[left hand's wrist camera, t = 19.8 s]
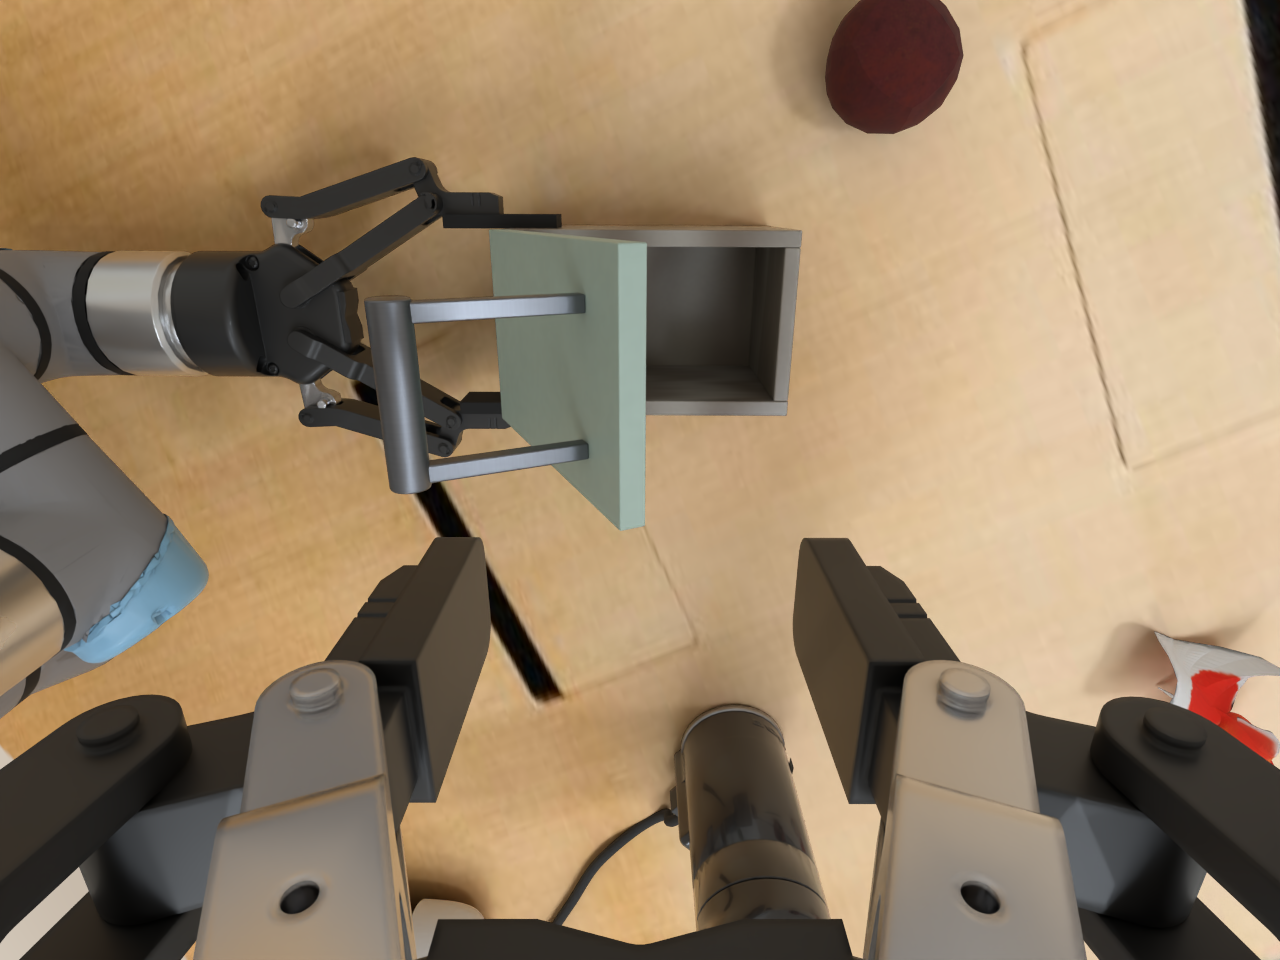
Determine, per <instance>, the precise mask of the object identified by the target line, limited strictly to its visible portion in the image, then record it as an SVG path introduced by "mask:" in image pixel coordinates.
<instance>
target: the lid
mask: <svg viewBox="0 0 1280 960" xmlns="http://www.w3.org/2000/svg"><path fill="white" fill-rule="evenodd" d="M489 237H490V251H491V265H492V280H493V294H494V297H473V298H452V299H430V300H411V299H410V297H407V296H375V297H369V298H366V299H365V300H364V303H365V311H366V318H367V325H368V333H369V340H370V347H371V354H372V362H373V369H374V376H375V384H376V391H377V398H378V406H379V413H380V420H381V428H382V435H383V442H384V449H385V457H386V464H387V471H388V479H389V486H390V489H391V491H392V492H394V493H398V494H414V493H419V492H422V491H425V490H427V489H429V488H430V487H431V484H432V483H434V482H441V481H448V480H454V479H461V478H467V477H474V476H481V475H487V474H494V473H500V472H507V471H513V470H520V469H527V468H533V467H540V466H546V465H552V466H553V467H554V468H555V469H556V470H557V471H558V472H559V473H560V474H561V475H562V476H563V477H564V478H565V479H566V480H568V481H569V482H570V483H571V484H572V485H573V486H574V487H575V488H576V489H577V490H578V491H579V492H580V493H581V494H582V495H583V496H584V497H585V498H586V499H587V500H588V501H590V502H591V503H592V504H593V505H594V506H595V507H596V508H597V509H598V510H599V511H600V512H601V513H602V514H603V515H604V516H605V517H606V518H607V519H608V520H609V521H610V522H612V523H613V524H614V525H615V526H616V527H617V528H618V529H619V530H620V531H622V530H627V529H632V528H637V527H642V526H645V430H646V298H647V243H646V242H637V241H626V240H615V239H605V238H594V237H584V236H573V235H562V234H552V233H541V232H530V231H520V230H509V229H490V230H489ZM482 319H495V322H496V336H497V351H498V365H499V379H500V393H501V407H502V418H503V419H504V420H505V421H506V422H507V423H508V424H509V425H510V426H511V427H512V428H513V429H514V430H515V431H516V432H517V433H518V434H519V435H520V436H521V437H523V438H524V439H525V440H526V441H527V442H528V443H529V444H530V445H531V446H529V447H522V448H515V449H508V450H501V451H493V452H486V453H479V454H472V455H465V456H457V457H450V458H443V459H436V460H429V454H428V445H427V436H426V427H425V419H424V410H423V401H422V392H421V383H420V374H419V365H418V356H417V348H416V339H415V330H414V324H416V323H432V322H449V321H466V320H482Z"/></svg>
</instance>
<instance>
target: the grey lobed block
mask: <svg viewBox="0 0 1280 960" xmlns="http://www.w3.org/2000/svg"><path fill="white" fill-rule="evenodd" d="M438 919H484V917H483V915H482V914H481V913H480V912H479V911H478V910H477V909H476V908H474V907H472V906H470V905H467V904H464V903H461V902H456V901H449V900H438V899H422V900H421V901H420V902H419V903H418V905H417V906H416V908H415V910H414V912H413V914H412V920H413V928H414V936H415V945H416V953H417V959H418V958H422V957H426V956H428V952H429V949H430V945H431V942H432V938H433V935H434V931H435V928H436V924H437V921H438Z"/></svg>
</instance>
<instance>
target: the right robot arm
mask: <svg viewBox="0 0 1280 960" xmlns="http://www.w3.org/2000/svg"><path fill="white" fill-rule="evenodd" d="M437 173H438V172H437V168H436V166H435V164H434V163H432V162H431V161H428V160H424V159H420V158H416V157H413V158H409V159H406V160H403V161H400V162H397V163H395V164H392V165H389V166H386V167H383V168H380V169H378V170H375V171H372V172H369V173H366V174H363V175H361V176H358V177H355V178H352V179H349V180H346V181H344V182H341V183H338V184H335V185H332V186H329V187H327V188H324V189H321V190H318V191H315V192H312V193H309V194H307V195H304V196H301V197H295V196H272V195H269V196H265V197H264V198H263V199H262V201H261V209H262V211H263V212H264V214H265V215H267V216H268V217H271V218H272V226H273V233H274V240H275V244H274V245H272V246H271V247H269V248H268V249H266V250H264V251H198V252H194V253H192V254H191V253H189V252H186V251H106V252H77V251H42V250H12V249H7V248H0V718H2V717H3V716H4V715H5V714H7V713H8V712H9V711H11V710H12V709H13V708H14V707H15V706H17V705H18V704H19V703H20V702H22V701H23V700H24V699H25V698H27V697H28V696H29V695H31V694H33V693H35V692H38V691H40V690H43V689H45V688H48V687H50V686H53V685H56V684H58V683H61V682H63V681H66V680H68V679H71V678H73V677H76V676H78V675H81V674H83V673H86V672H88V671H91V670H93V669H95V668H97V667H99V666H101V665H103V664H105V663H107V662H108V661H110V660H111V659H112V658H114V657H115V656H117V655H118V654H120V653H122V652H123V651H125V650H127V649H128V648H130V647H131V646H133V645H134V644H136V643H137V642H139V641H140V640H142V639H143V638H144V637H146V636H147V635H149V634H150V633H151V632H153V631H154V630H156V629H157V628H158V627H159V626H160V625H161V624H163V623H164V622H165V621H167V620H168V619H169V618H171V617H172V616H174V615H175V614H177V613H178V612H179V611H181V610H182V609H183V608H184V607H185V606H187V605H188V604H189V603H190V602H191V601H192V600H194V599H195V598H196V597H197V596H198V595H199V594H200V593H201V592H202V590H203V589H204V588H205V586H206V584H207V581H208V576H209V574H208V569H207V566H206V564H205V562H204V561H203V560H202V559H201V557H200V556H199V555H198V554H197V552H196V551H195V550H194V549H193V547H192V546H191V545H190V544H189V542H188V541H187V540H186V539H185V537H184V536H183V535H182V534H181V532H180V531H179V530H178V529H177V527H176V526H175V525H174V522H173V521H172V520H171V519H170V517H169V516H167V515H166V514H163V513H162V512H161V511H160V510H159V509H158V508H157V507H156V506H155V505H154V504H153V503H152V502H151V501H150V500H149V499H148V498H147V497H146V496H145V495H144V494H143V492H142V491H141V490H140V489H139V488H138V487H137V486H136V485H135V484H134V483H133V482H132V481H131V480H130V479H129V478H128V477H127V476H126V475H125V474H124V473H123V472H122V471H121V470H120V469H119V467H118V466H117V465H116V464H115V463H114V462H113V461H112V460H111V459H110V458H109V457H108V456H107V455H106V454H105V453H104V452H103V451H102V450H101V449H100V448H99V447H98V446H97V445H96V444H95V442H94V441H93V440H92V439H91V438H90V437H89V435H87V433H86V432H85V431H84V430H83V429H82V428H81V427H80V426H79V424H78V423H77V422H76V421H75V420H74V419H73V418H72V417H71V416H70V415H69V414H68V412H67V411H66V410H65V409H64V408H63V407H62V406H61V405H60V404H59V403H58V402H57V401H56V399H55V398H54V397H53V396H52V395H51V394H50V393H49V392H48V391H47V390H46V389H45V388H44V386H43V385H42V384H41V383H43V382H46V381H50V380H53V379H57V378H62V377H69V376H90V375H145V376H204V375H208V374H210V375H213V376H279V377H284V378H287V379H290V380H292V381H294V382H296V383H298V384H300V389H301V393H302V398H303V402H304V407H305V408H304V409H303V410H301V411H300V413H299V420H300V422H301V423H302V424H303V425H305V426H307V427H322V426H338V427H341V428H345V429H348V430H352V431H355V432H359V433H362V434H366V435H369V436H372V437H376V438H379V439H383V435H382V428H381V420H380V413H379V406H376V405H372V404H369V403H366V402H362V401H358V400H354V399H346V398H341V395H340V393H339V392H337V391H335V390H332V389H328V388H326V387H325V386H324V385H323V384H322V382H321V379H322V378H323V377H324V376H325V375H327V374H328V373H329V372H330V371H332V370H334V371H336V372H338V373H340V374H341V375H343V376H345V377H347V378H349V379H354V380H358V381H361V382H362V383H364V384H366V385H368V386H370V387H371V388H373V389H375V390H376V384H375V376H374V369H373V362H372V354H371V348H369V347H367V346H366V345H364V344H362V343H360V341H361V339H362V338H364V336H363V329H362V324H361V322H360V319H359V317H358V314H357V309H358V301H359V300H358V293H357V288H353V286H352V284H351V282H350V281H351V280H352V279H353V278H355V277H356V276H358V275H359V274H361V273H362V272H364V271H365V270H366V269H367V268H368V267H369V266H371V265H372V264H373V263H375V262H376V261H378V260H379V259H381V258H382V257H384V256H385V255H387V254H388V253H390V252H391V251H393V250H394V249H395V248H397V247H398V246H400V245H401V244H403V243H404V242H406V241H407V240H409V239H410V238H412V237H413V236H414V235H416V234H417V233H419V232H420V231H422V230H423V229H425V228H426V227H428V226H429V225H431V224H432V223H434V222H435V221H436V220H438V219H439V218H441V217H443V228H560V227H562V221H561V214H504V211H503V197H502V196H499V195H497V194H495V193H468V192H449V191H447V190H446V189H445V188H444V187H443V186H442V184H441V182H440V180H439V177H438V175H437ZM412 188H415V190H416V192H417V194H418V198H417V199H415V200H414V201H413V202H411V203H410V204H408V205H407V206H405V207H404V208H402V209H401V210H400V211H398V212H397V213H395V214H394V215H392V216H391V217H389V218H388V219H387V220H385V221H384V222H382V223H381V224H379V225H378V226H376V227H375V228H374V229H372V230H371V231H369V232H368V233H366V234H365V235H364V236H362V237H361V238H359V239H358V240H356V241H355V242H353V243H352V244H351V245H349V246H348V247H346V248H345V249H343V250H342V251H340V252H339V253H337V254H334V255H333V256H331V257H329V258H328V259H326V260H325V261H323V260H321V259H320V258H318V257H317V256H316V255H314V254H313V253H311V252H310V251H308V250H307V249H305V248H304V247H302V246H301V245H299V237H300V236H301V235H302V234H304V233H308V232H310V231H312V229H313V227H314V219H320V218H327V217H331V216H335V215H337V214H340V213H343V212H346V211H349V210H352V209H355V208H358V207H361V206H363V205H366V204H369V203H372V202H375V201H378V200H381V199H384V198H386V197H389V196H392V195H395V194H398V193H401V192H404V191H407V190H409V189H412ZM420 383H421V392H422V401H423V410H424V417H426V418H428V419H430V420H431V421H433V422H435V423H433V422H430V421H426V420H425V427H426V436H427V445H428V453H431V454H434V455H438V456H441V457H448V456H450V455H451V454H452V453H453V451H454V450H455V449H456V448H457V446H458V445H459V444H460V442H461V440H462V433H463V430H465V429H490V428H491V429H496V428H497V429H506V428H509V427H511V426H510V425H509V424H508V423H507V422H506V421H505V420H504V419H503V418H502V407H501V393H500V392H469V393H468V394H467V395H466V396H465V397H464V398H463V399H462V400H461V401H458V400H457V399H455V398H453V397H451V396H450V395H448V394H446V393H444V392H442V391H441V390H439V389H437V388H435V387H433V386H432V385H430V384H428V383H426V382H425V381H423V380H421V379H420Z"/></svg>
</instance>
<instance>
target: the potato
mask: <svg viewBox="0 0 1280 960" xmlns="http://www.w3.org/2000/svg"><path fill="white" fill-rule="evenodd" d="M962 59H963V50H962V43H961V37H960V30H959V27H958V26H957V24H956V22H955V21H954V19H953V17H952V15H951V14H950V12H949V10H948V9H947V7H946V6H945V5H944V4H943V3H942V2H941V1H940V0H861V1H859V2H858V3H857V4H856V5H855V6H854V7H853V8H852V10H851V11H850V12H849V13H848V14H847V15H846V16H845V17H844V18H843V20H842V21H841V23H840V25H839V27H838V29H837V31H836V33H835V35H834V37H833V39H832V42H831V46H830V50H829V54H828V57H827V64H826V75H825V80H826V90H827V95H828V98H829V100H830V103H831V105H832V108H833V109H834V110H835V112H836V113H837V114H838V115H839V116H840V117H841V118H842V119H843V120H844V121H845V123H846V124H849V125H851V126H853V127H855V128H857V129H859V130H861V131H864V132H866V133H878V134H894V133H897V132H900V131H902V130H905V129H907V128H910V127H913V126H915V125H917V124H919V123H920V122H922V121H923V120H924V119H925V118H927V117H928V116H929V115H930V114H932V113H933V112H934V111H935V110H937V109H938V108H939V107H940V106H941V105H942V103H943V102H944V100H945V99H946V97H947V95H948V94H949V92H950V90H951V89H952V87H953V85H954V84H955V82H956V80H957V77H958V74H959V70H960V66H961V62H962Z"/></svg>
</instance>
